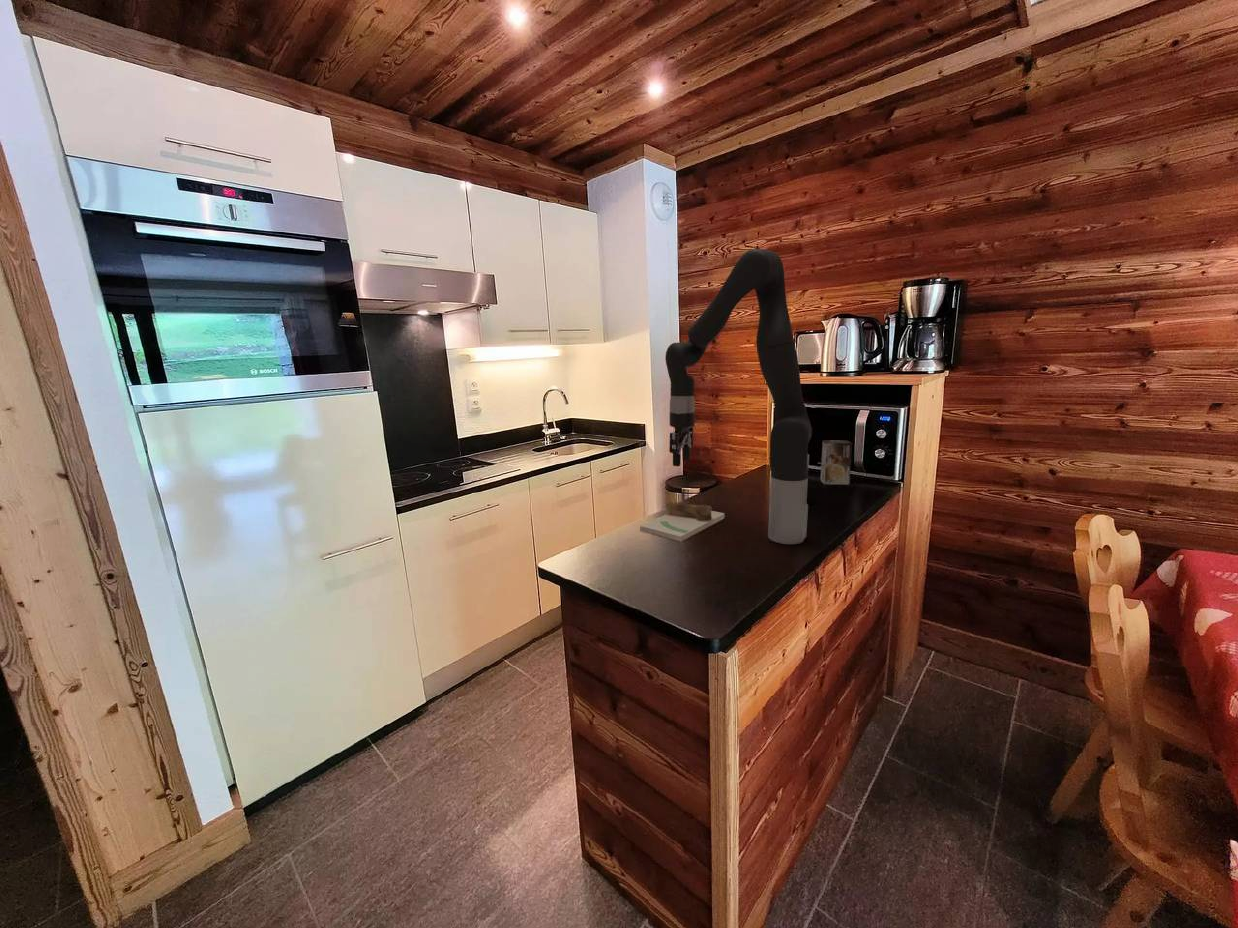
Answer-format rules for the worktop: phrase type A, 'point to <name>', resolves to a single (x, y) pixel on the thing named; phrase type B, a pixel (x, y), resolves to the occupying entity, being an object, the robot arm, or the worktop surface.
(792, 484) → the robot arm
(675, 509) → the brown wooden block
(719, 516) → the dial board
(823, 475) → the coffee box
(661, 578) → the worktop surface
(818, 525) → the worktop surface
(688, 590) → the worktop surface
